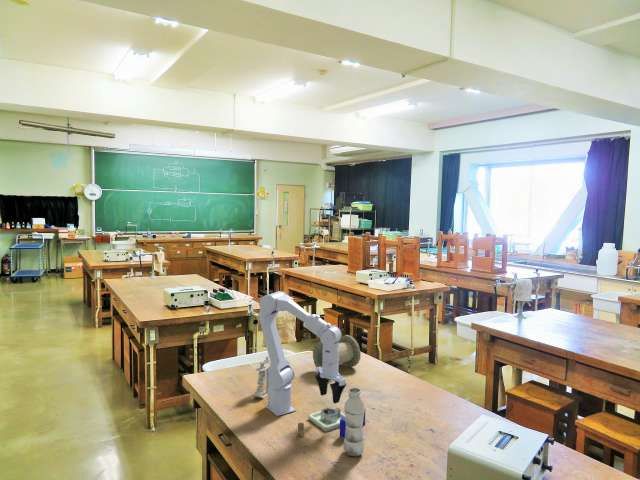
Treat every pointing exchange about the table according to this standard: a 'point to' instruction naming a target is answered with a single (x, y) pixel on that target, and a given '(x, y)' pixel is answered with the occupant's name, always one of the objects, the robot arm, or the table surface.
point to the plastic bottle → (354, 423)
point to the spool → (340, 352)
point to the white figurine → (262, 379)
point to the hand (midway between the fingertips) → (329, 398)
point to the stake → (300, 429)
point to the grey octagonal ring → (330, 415)
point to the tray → (326, 427)
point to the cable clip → (343, 426)
